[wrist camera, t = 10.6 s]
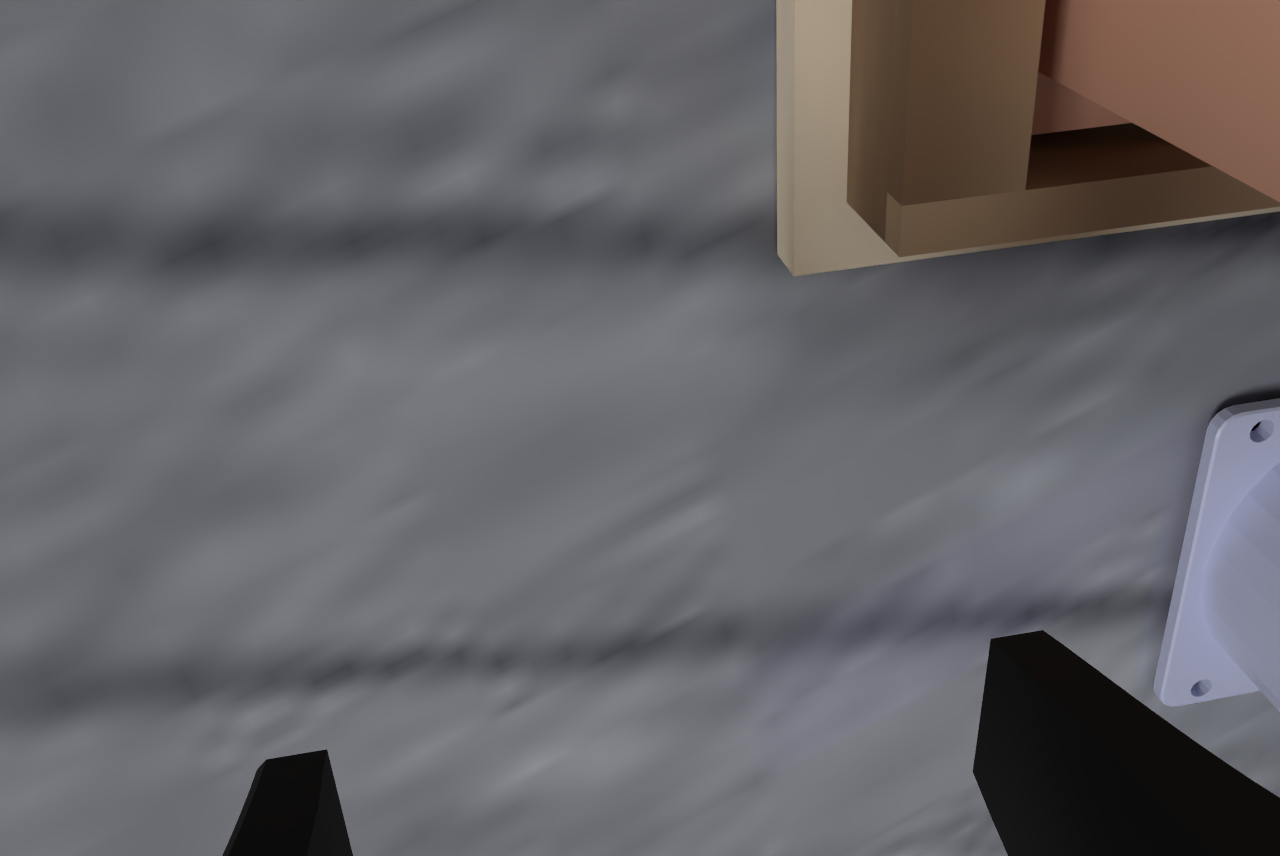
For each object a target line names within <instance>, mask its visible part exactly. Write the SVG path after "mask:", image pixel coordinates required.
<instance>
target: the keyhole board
mask: <svg viewBox="0 0 1280 856" xmlns="http://www.w3.org/2000/svg"><path fill="white" fill-rule="evenodd" d="M1045 2H1046V0H776V13H777V254H778V256H779V257H780V258H781V260H782V261H783V263H784V264H785V265H786V267H787V268H788V269H789V271H790V272H791V273H792V275H793V276H800V275H807V274H815V273H822V272H830V271H837V270H845V269H852V268H860V267H867V266H875V265H882V264H890V263H897V262H905V261H912V260H919V259H927V258H934V257H942V256H949V255H957V254H964V253H972V252H979V251H987V250H994V249H1002V248H1009V247H1017V246H1024V245H1032V244H1039V243H1047V242H1054V241H1062V240H1069V239H1076V238H1084V237H1091V236H1099V235H1106V234H1114V233H1121V232H1129V231H1136V230H1144V229H1151V228H1159V227H1166V226H1174V225H1181V224H1189V223H1196V222H1204V221H1211V220H1219V219H1226V218H1234V217H1241V216H1248V215H1256V214H1263V213H1271V212H1278V211H1280V202H1278V201H1276V200H1274V199H1273V198H1271V197H1269V196H1267V195H1265V194H1263V193H1262V192H1260V191H1258V190H1256V189H1254V188H1252V187H1250V186H1249V185H1247V184H1245V183H1243V182H1241V181H1239V180H1237V179H1236V178H1234V177H1232V176H1230V175H1228V174H1226V173H1225V172H1223V171H1221V170H1219V169H1217V168H1215V167H1213V166H1212V165H1210V164H1208V163H1206V162H1204V161H1202V160H1201V159H1199V158H1197V157H1195V156H1193V155H1191V154H1189V153H1188V152H1186V151H1184V150H1182V149H1180V148H1178V147H1176V146H1175V145H1173V144H1171V143H1169V142H1167V141H1165V140H1164V139H1162V138H1160V137H1158V136H1156V135H1154V134H1152V133H1151V132H1149V131H1147V130H1145V129H1143V128H1141V127H1139V126H1138V125H1136V124H1134V123H1126V124H1118V125H1110V126H1102V127H1094V128H1085V129H1077V130H1069V131H1061V132H1053V133H1045V134H1036V135H1031V133H1032V124H1033V114H1034V105H1035V96H1036V86H1037V77H1038V67H1039V58H1040V49H1041V39H1042V30H1043V20H1044V11H1045Z"/></svg>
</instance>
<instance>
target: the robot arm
mask: <svg viewBox="0 0 1280 856" xmlns="http://www.w3.org/2000/svg"><path fill="white" fill-rule="evenodd" d="M1258 422H1261V423H1260V425H1259V426H1258V427H1257V428H1256V429H1255V430H1254V431H1251V430H1252V428H1253V427H1254V426H1255V425H1256V424H1257V423H1258ZM1153 686H1154V692H1155V694H1156V695H1157V696H1158V697H1159V699H1160V700H1161V701H1162V702H1163V704H1165V705H1167V706H1182V705H1187V704H1192V703H1198V702H1203V701H1208V700H1214V699H1219V698H1224V697H1230V696H1235V695H1240V694H1246V693H1251V692H1257V691H1261V692H1262V693H1263V694H1264V695H1265V696H1266V698H1267V699H1268V700H1269V701H1270V702H1271V703H1272V704H1273V705H1274V706H1275V708H1276V709H1277V710H1278V711H1279V712H1280V398H1278V399H1271V400H1265V401H1258V402H1252V403H1245V404H1239V405H1233V406H1230V407H1227V408H1224V409H1223V410H1221V411H1220V412H1219V413H1217V414H1216V415H1215V416H1214V417H1213V419H1212V420H1211V421H1210V423H1209V426H1208V428H1207V431H1206V436H1205V441H1204V445H1203V450H1202V455H1201V460H1200V465H1199V469H1198V474H1197V479H1196V484H1195V489H1194V493H1193V498H1192V503H1191V508H1190V513H1189V517H1188V522H1187V527H1186V532H1185V537H1184V541H1183V546H1182V551H1181V556H1180V561H1179V565H1178V570H1177V575H1176V580H1175V584H1174V589H1173V594H1172V599H1171V604H1170V608H1169V613H1168V618H1167V623H1166V628H1165V632H1164V637H1163V642H1162V647H1161V652H1160V656H1159V661H1158V666H1157V671H1156V676H1155V680H1154V685H1153ZM973 773H974V776H975V778H976V781H977V783H978V786H979V788H980V790H981V793H982V795H983V798H984V800H985V803H986V805H987V808H988V810H989V813H990V815H991V817H992V820H993V822H994V824H995V827H996V829H997V831H998V833H999V836H1000V838H1001V840H1002V843H1003V845H1004V847H1005V849H1006V852H1007V854H1008V856H1280V798H1279V797H1278V796H1276V795H1274V794H1273V793H1271V792H1270V791H1268V790H1267V789H1265V788H1263V787H1262V786H1260V785H1259V784H1257V783H1255V782H1254V781H1252V780H1251V779H1249V778H1248V777H1246V776H1245V775H1243V774H1242V773H1240V772H1239V771H1237V770H1236V769H1234V768H1233V767H1231V766H1230V765H1228V764H1227V763H1225V762H1224V761H1223V760H1221V759H1220V758H1218V757H1217V756H1215V755H1214V754H1212V753H1211V752H1209V751H1208V750H1207V749H1205V748H1204V747H1202V746H1201V745H1199V744H1198V743H1197V742H1195V741H1194V740H1192V739H1191V738H1189V737H1188V736H1187V735H1185V734H1184V733H1182V732H1181V731H1180V730H1178V729H1177V728H1175V727H1174V726H1173V725H1171V724H1170V723H1168V722H1167V721H1166V720H1164V719H1163V718H1161V717H1160V716H1159V715H1157V714H1156V713H1155V712H1153V711H1152V710H1150V709H1149V708H1148V707H1146V706H1145V705H1144V704H1142V703H1141V702H1140V701H1138V700H1137V699H1135V698H1134V697H1133V696H1131V695H1130V694H1129V693H1127V692H1126V691H1125V690H1123V689H1122V688H1121V687H1119V686H1118V685H1117V684H1115V683H1114V682H1112V681H1111V680H1110V679H1108V678H1107V677H1106V676H1104V675H1103V674H1102V673H1100V672H1099V671H1098V670H1096V669H1095V668H1094V667H1092V666H1091V665H1090V664H1088V663H1087V662H1086V661H1084V660H1083V659H1082V658H1080V657H1079V656H1078V655H1076V654H1075V653H1074V652H1072V651H1071V650H1069V649H1068V648H1067V647H1065V646H1064V645H1063V644H1061V643H1060V642H1058V641H1057V640H1056V639H1054V638H1053V637H1051V636H1050V635H1049V634H1047V633H1046V632H1044V631H1043V630H1042V631H1036V632H1030V633H1024V634H1018V635H1012V636H1006V637H1000V638H994V639H991V642H990V649H989V657H988V664H987V671H986V679H985V686H984V694H983V701H982V708H981V716H980V723H979V730H978V738H977V745H976V753H975V760H974V767H973ZM223 856H353V854H352V850H351V846H350V842H349V838H348V833H347V829H346V825H345V821H344V817H343V813H342V809H341V805H340V801H339V797H338V792H337V788H336V784H335V780H334V776H333V772H332V768H331V764H330V760H329V756H328V752H327V750H321V751H315V752H309V753H303V754H297V755H291V756H285V757H279V758H273V759H267V760H266V761H265V762H264V763H263V764H262V765H261V766H260V767H259V768H258V769H257V771H256V774H255V777H254V780H253V783H252V785H251V788H250V791H249V793H248V796H247V799H246V801H245V804H244V806H243V809H242V811H241V814H240V816H239V819H238V821H237V823H236V826H235V828H234V831H233V833H232V835H231V838H230V840H229V842H228V845H227V847H226V849H225V851H224V853H223Z"/></svg>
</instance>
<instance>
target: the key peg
mask: <svg viewBox="0 0 1280 856" xmlns="http://www.w3.org/2000/svg"><path fill="white" fill-rule="evenodd" d="M1126 123H1134V124H1136V125H1138V126H1139V127H1141V128H1143V129H1145V130H1147V131H1149V132H1151V133H1152V134H1154V135H1156V136H1158V137H1160V138H1162V139H1164V140H1165V141H1167V142H1169V143H1171V144H1173V145H1175V146H1176V147H1178V148H1180V149H1182V150H1184V151H1186V152H1188V153H1189V154H1191V155H1193V156H1195V157H1197V158H1199V159H1201V160H1202V161H1204V162H1206V163H1208V164H1210V165H1212V166H1213V167H1215V168H1217V169H1219V170H1221V171H1223V172H1225V173H1226V174H1228V175H1230V176H1232V177H1234V178H1236V179H1237V180H1239V181H1241V182H1243V183H1245V184H1247V185H1249V186H1250V187H1252V188H1254V189H1256V190H1258V191H1260V192H1262V193H1263V194H1265V195H1267V196H1269V197H1271V198H1273V199H1274V200H1276V201H1278V202H1280V0H1046V2H1045V11H1044V20H1043V30H1042V39H1041V49H1040V58H1039V67H1038V77H1037V86H1036V96H1035V105H1034V114H1033V124H1032V133H1031V135H1036V134H1045V133H1053V132H1061V131H1069V130H1077V129H1085V128H1094V127H1102V126H1110V125H1118V124H1126Z"/></svg>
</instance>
